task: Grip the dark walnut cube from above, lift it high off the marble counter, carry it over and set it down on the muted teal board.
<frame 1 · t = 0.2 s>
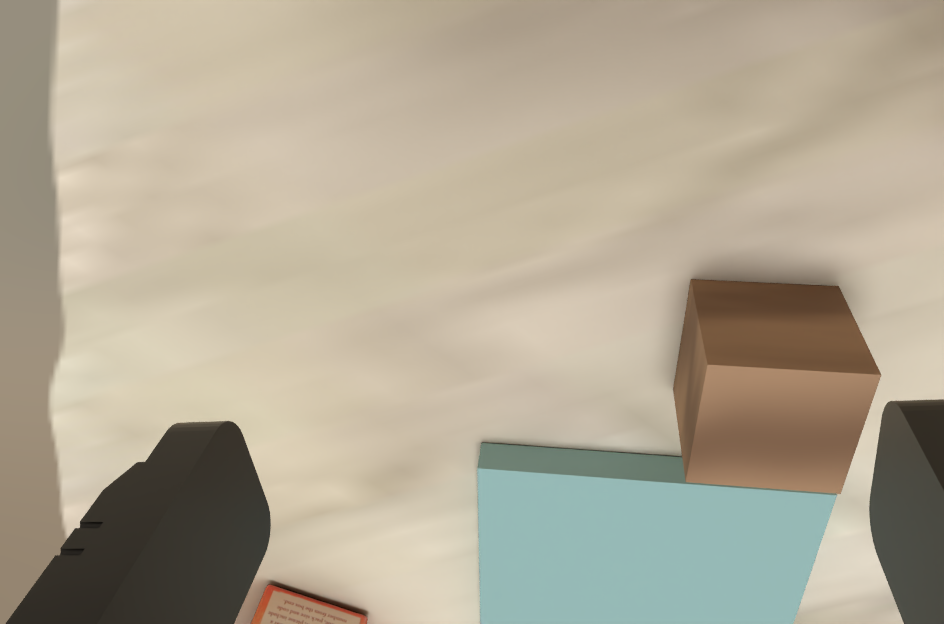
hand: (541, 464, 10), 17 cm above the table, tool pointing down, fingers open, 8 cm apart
walnut cube: (750, 339, 29), on the table
teal board: (634, 565, 37), on the table
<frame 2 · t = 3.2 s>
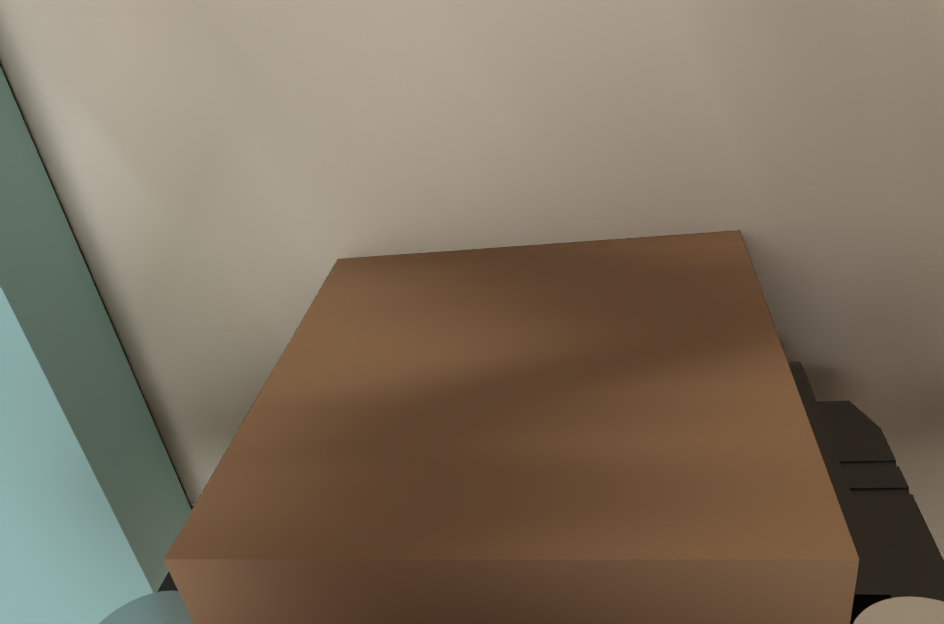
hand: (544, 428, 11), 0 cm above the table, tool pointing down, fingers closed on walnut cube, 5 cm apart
walnut cube: (548, 405, 11), on the table, touching gripper
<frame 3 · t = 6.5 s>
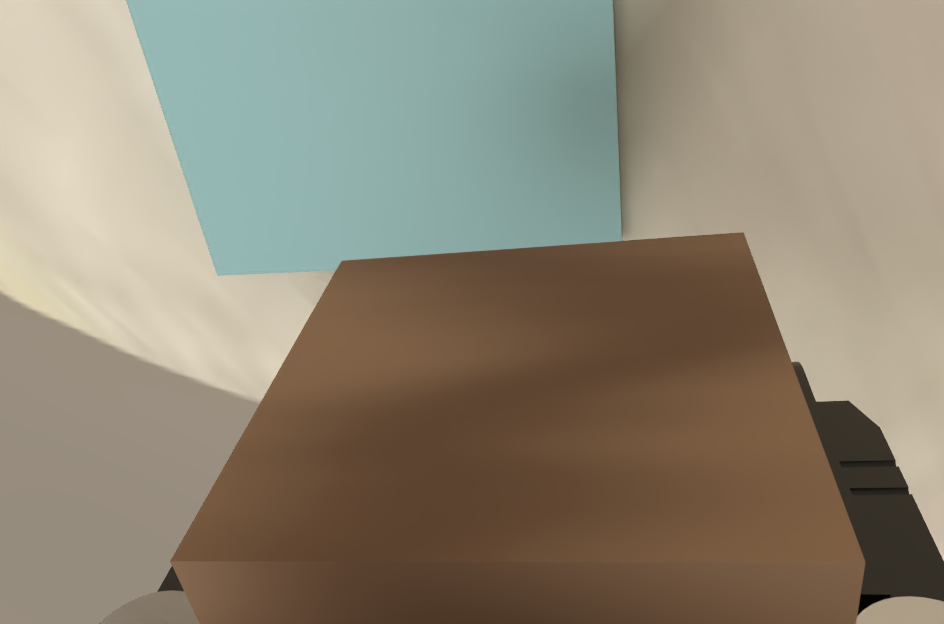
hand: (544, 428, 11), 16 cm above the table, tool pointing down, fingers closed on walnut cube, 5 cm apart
walnut cube: (551, 407, 11), point 16 cm above the table, touching gripper
teal board: (381, 42, 24), on the table
when the fingers open (3 cm above the table, at t = 10.1 s): walnut cube drops 1 cm, resting on teal board.
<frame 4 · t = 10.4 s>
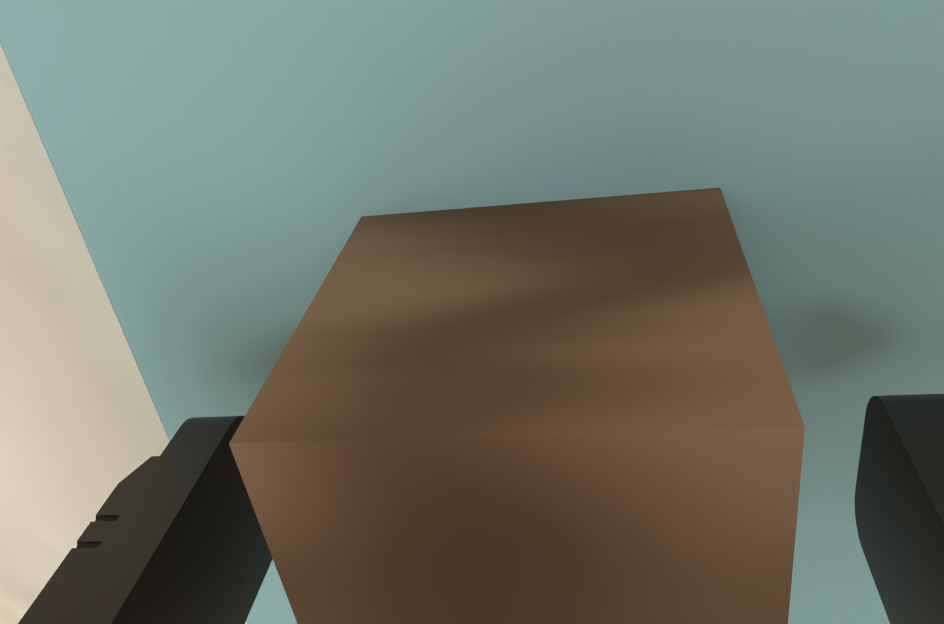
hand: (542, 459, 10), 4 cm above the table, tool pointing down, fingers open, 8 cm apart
walnut cube: (550, 351, 12), point 1 cm above the table, touching teal board
teal board: (554, 301, 14), on the table
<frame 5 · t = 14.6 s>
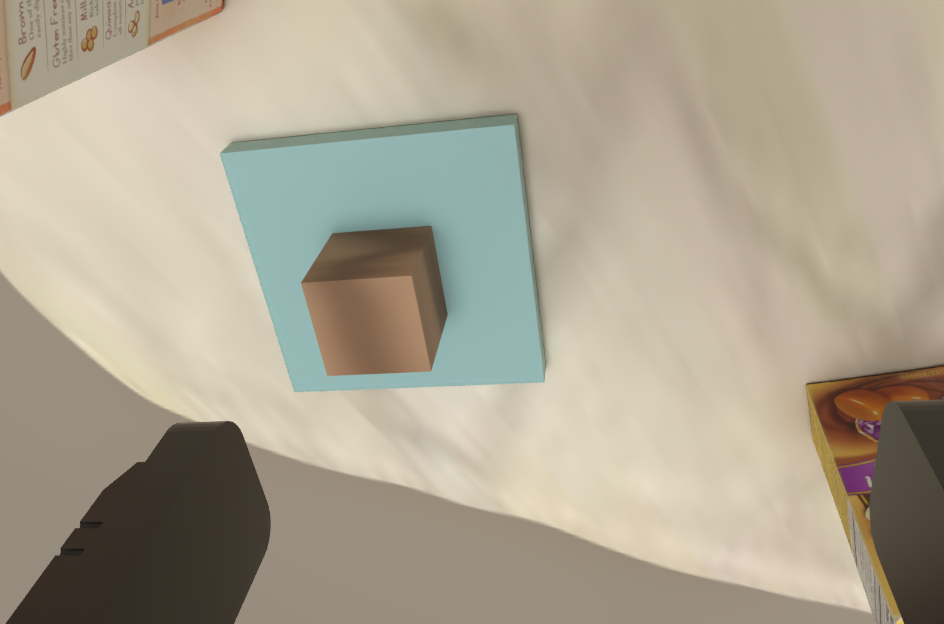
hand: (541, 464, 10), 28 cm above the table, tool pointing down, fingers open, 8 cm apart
walnut cube: (391, 274, 40), point 1 cm above the table, touching teal board
candy box: (894, 395, 42), on the table
teal board: (397, 260, 41), on the table
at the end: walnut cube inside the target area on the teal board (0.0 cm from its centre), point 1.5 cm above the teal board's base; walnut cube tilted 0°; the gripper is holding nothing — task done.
